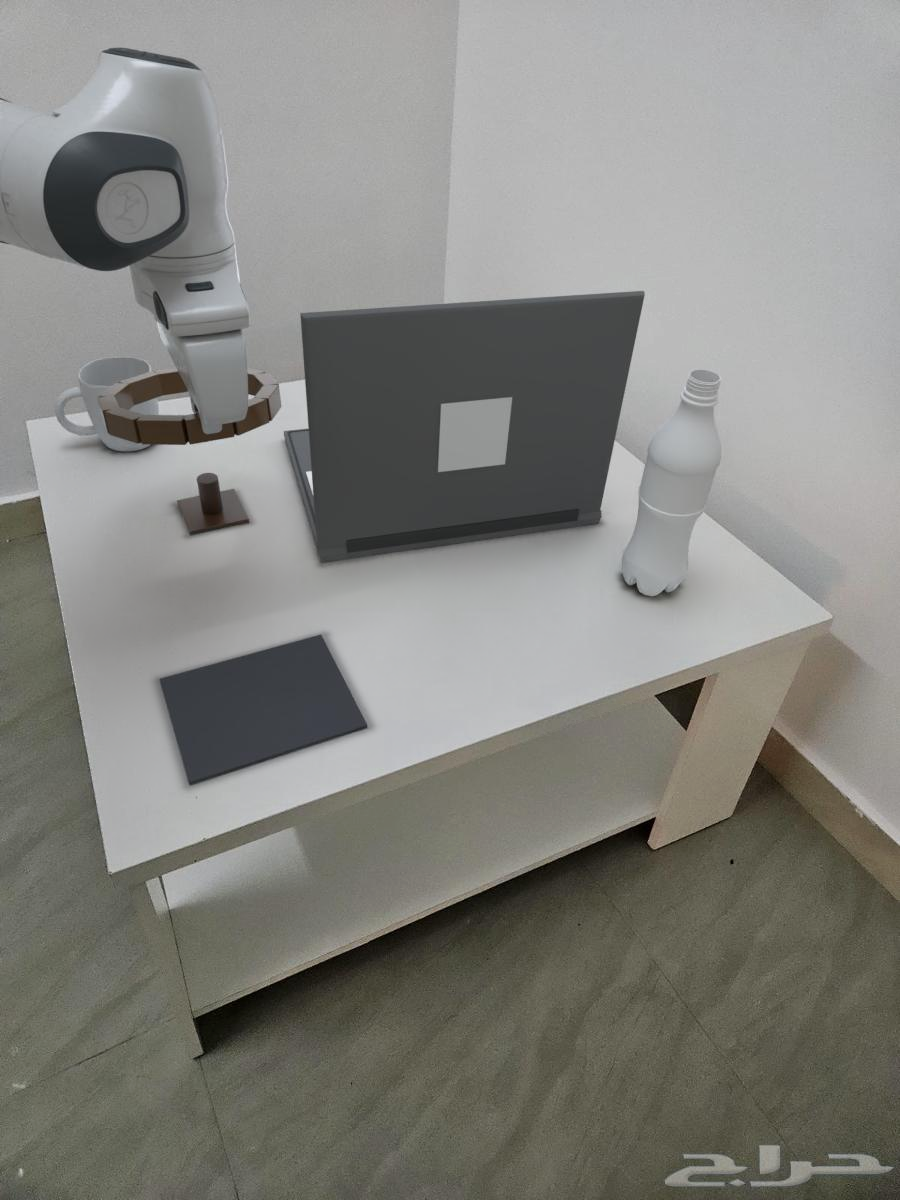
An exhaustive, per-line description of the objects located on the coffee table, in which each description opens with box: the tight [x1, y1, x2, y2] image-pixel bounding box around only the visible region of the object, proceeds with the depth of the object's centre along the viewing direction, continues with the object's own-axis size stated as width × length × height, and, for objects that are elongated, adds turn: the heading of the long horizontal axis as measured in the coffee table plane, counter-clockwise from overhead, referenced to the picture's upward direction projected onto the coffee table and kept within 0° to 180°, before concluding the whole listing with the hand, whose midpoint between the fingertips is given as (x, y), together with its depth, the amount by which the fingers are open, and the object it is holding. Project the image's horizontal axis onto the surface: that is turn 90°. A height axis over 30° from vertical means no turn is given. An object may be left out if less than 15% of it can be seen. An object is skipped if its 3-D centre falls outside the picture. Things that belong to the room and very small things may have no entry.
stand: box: [176, 472, 250, 536], centre depth 97 cm, size 7×7×5 cm
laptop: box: [283, 290, 646, 563], centre depth 97 cm, size 35×28×28 cm
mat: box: [159, 634, 368, 786], centre depth 76 cm, size 16×13×1 cm
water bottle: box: [621, 368, 722, 597], centre depth 84 cm, size 7×7×25 cm
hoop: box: [97, 367, 283, 446], centre depth 85 cm, size 18×18×2 cm
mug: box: [54, 355, 160, 452], centre depth 106 cm, size 13×9×10 cm
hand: (207, 422), depth 78 cm, fingers closed on hoop, 2 cm apart
